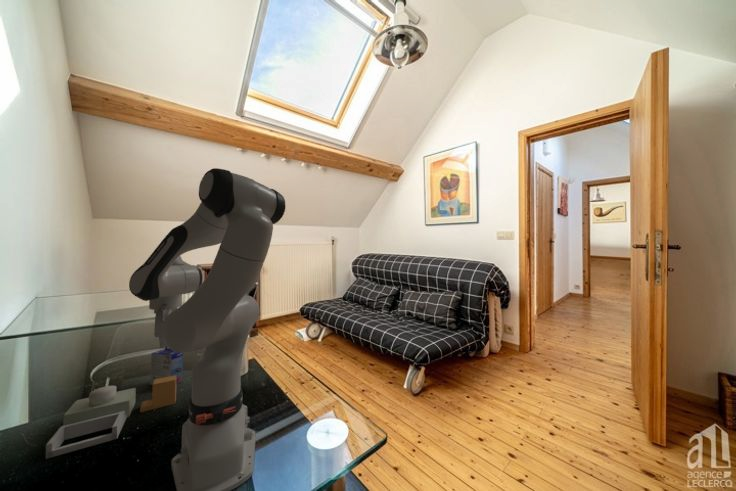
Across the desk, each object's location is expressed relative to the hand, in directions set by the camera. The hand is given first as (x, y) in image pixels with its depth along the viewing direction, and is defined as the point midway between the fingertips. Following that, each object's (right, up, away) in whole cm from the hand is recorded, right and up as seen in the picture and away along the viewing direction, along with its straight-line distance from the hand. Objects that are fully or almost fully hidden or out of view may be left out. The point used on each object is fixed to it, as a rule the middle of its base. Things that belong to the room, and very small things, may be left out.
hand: (165, 342), depth 89 cm
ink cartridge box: (-10, -21, +13) cm, 27 cm away
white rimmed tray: (-11, -20, -12) cm, 26 cm away
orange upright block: (-1, -20, -1) cm, 20 cm away
